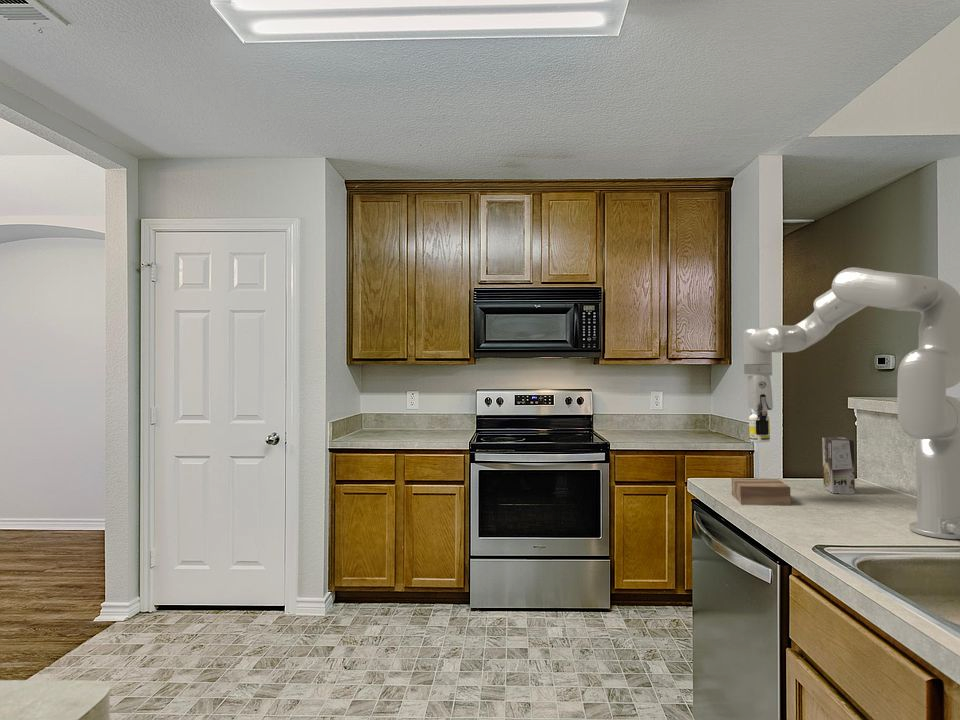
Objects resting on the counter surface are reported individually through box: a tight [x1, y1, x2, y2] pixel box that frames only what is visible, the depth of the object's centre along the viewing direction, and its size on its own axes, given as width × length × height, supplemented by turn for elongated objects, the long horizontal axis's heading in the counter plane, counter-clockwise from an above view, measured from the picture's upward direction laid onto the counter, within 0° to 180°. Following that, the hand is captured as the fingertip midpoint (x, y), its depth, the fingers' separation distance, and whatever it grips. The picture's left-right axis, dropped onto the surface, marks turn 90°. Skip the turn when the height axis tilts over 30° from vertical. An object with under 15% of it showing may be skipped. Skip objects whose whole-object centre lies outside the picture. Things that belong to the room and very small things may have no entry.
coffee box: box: [821, 436, 856, 495], centre depth 199 cm, size 9×6×16 cm
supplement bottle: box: [748, 408, 771, 443], centre depth 189 cm, size 5×5×10 cm
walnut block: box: [731, 477, 792, 506], centre depth 189 cm, size 13×13×5 cm
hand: (759, 432), depth 189 cm, fingers closed on supplement bottle, 5 cm apart
